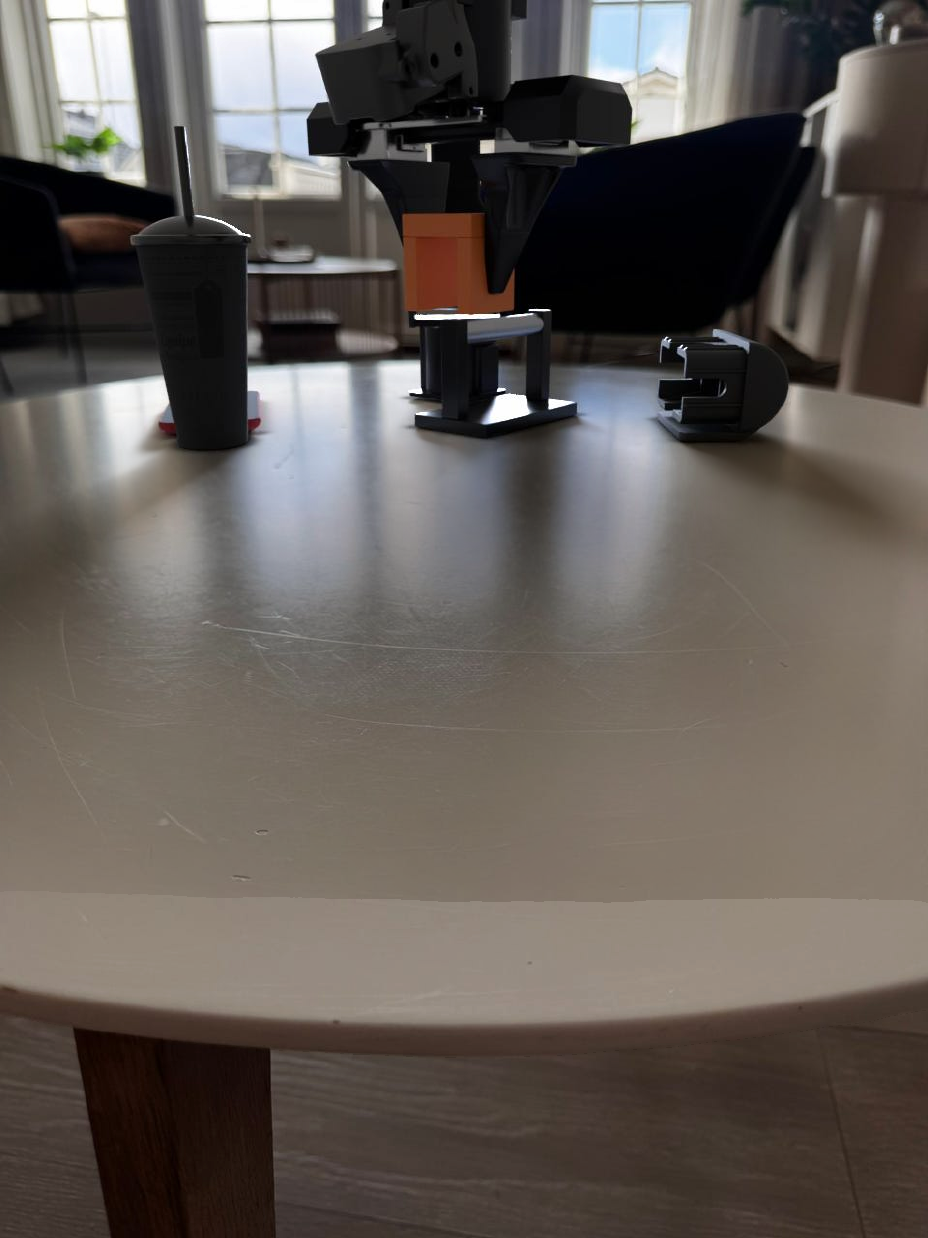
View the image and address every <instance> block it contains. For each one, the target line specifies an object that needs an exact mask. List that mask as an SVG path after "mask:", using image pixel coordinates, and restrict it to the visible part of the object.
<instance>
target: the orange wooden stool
mask: <svg viewBox="0 0 928 1238" xmlns="http://www.w3.org/2000/svg"><path fill="white" fill-rule="evenodd" d="M403 236H404V238H403V242H404V248H403V270H404V271H403V272H404V273H403V274H404V302H405V304H404V305H405V311H407V312H408V311H417V312H425V311H434V310H433V309H442V308H450V307H458V310H457V315H487V314H494V313H497V312H502V311H509V310H512V311H514V309H515V269H514V270H513V273H512V275H511V277H510V280H509V282H508V284H507V286H506V289H505V291H504V292H503V293H502V294H496V295H491V294H489V293H488V288H487V279H486V269H485V213H435V214H403Z"/></svg>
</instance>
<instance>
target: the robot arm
mask: <svg viewBox="0 0 928 1238" xmlns="http://www.w3.org/2000/svg"><path fill="white" fill-rule="evenodd" d="M527 14H528V0H383V1H382V3H381V15H382V21H381V26H379V27H376V28H374V29H371V30H368V31H365V32H362V33H359V34H357V35H354V36H352V37H350V38H348V39H345V40H342V41H340V42H338V43H335V44H333V45H331V46H328V47H326V48H324V49H321V50H319V51H317V52H316V53H315V54H314V57H315V61H316V64H317V68H318V71H319V74H320V78H321V82H322V85H323V89H324V92H325V95H326V100H327V101H322V102H320V101H319V102H316V104H315V105H314V107H313V109H311V112H310V113H309V114H308V116H307V118H306V136H307V149H308V156H309V157H325V158H342V159H355V160H348V161H347V164H348V166H349V168H350V169H351V171H352V172H360V173H361V174H363V175H364V176H365V177H366V179H368V181H369V182H370V183H371V184H372V185H373V186H374V187H375V188H376V189H377V191H379V192H380V194H381V196H382V197H383V199H384V202H385V204H386V206H387V209H388V211H389V214H390V216H391V218H392V220H393V223H394V225H395V228H396V231H397V234H398V237H399V240H400V242H401V246H402V248H403V249H404V242H403V238H404V236H403V214H435V213H485V269H486V279H487V288H488V293H489V294H491V295H496V294H502V293H503V292H504V291H505V289H506V286H507V284H508V282H509V280H510V277H511V275H512V273H513V270H514V271H515V268H516V266H517V263H518V261H519V259H520V257H521V254H522V252H523V250H524V247H525V245H526V244H527V241H528V238H529V236H530V234H531V231H532V230H533V227H534V225H535V223H536V221H537V219H538V216H540V215H539V214H540V212H541V210H542V209H543V208H544V205H545V204H546V202H547V200H548V198H549V196H550V194H551V193H552V191H553V189H554V187H555V185H556V184H557V182H558V180H559V178H560V176H561V174H562V173H563V171H564V170H565V169H566V168H575V167H576V165H577V161H578V158H577V157H578V156H577V155H570V141H572V142H574V143H575V144H576V146H577V147H578V148H582V149H591V148H592V149H593V148H607V147H625V146H630V145H631V142H632V140H631V139H632V125H633V106H632V103H631V100H630V98H629V95H628V94H627V91H626V90H625V88H624V87H623V85H622V83H621V82H617V81H616V82H614V81H612V80H611V81H610V80H604V79H599V78H594V77H589V76H582V75H577V74H565V75H557V76H548V77H537V78H529V79H520V80H519V79H518V80H514V82H513V83H512V35H513V32H512V31H513V22H514V21H521V20H527V19H528V17H527V16H528V15H527ZM481 112H482V114H481ZM482 141H493V147H494V149H493V152H485V153H482V152H481V142H482ZM426 145H430V161H428V148H426ZM481 186H482V188H483V193H484V197H483V200H484V201H483V200H482V198H481ZM456 310H457V311H458V307H450V308H442V309H433V310H432V311H456ZM407 312H408V313H407V314H408V328H409V329H415V328H418V330H419V331H418V332H419V333H418V334H419V366H420V367H419V369H420V371H419V372H420V388H419V389H412V390H408V392H409V393H408V395H409V397H412V398H419V399H420V398H421V399H427V400H435V401H442V378H441V319H450V318H453V319H467V320H468V321H469V320H478V319H487V318H496V317H505V316H513V310H509V311H502V312H496V314H479V315H459V314H427V315H423V314H420V315H419V314H418V315H417V312H418V311H407ZM499 351H500V346H499V344H498V343H496V340H491V341H483V342H476V343H469V344H468V403H470V402H475V401H479V400H484V399H489V398H493V397H498V396H503V395H507V393H506V392H507V389H506V388H502V387H501V388H500V387H499V374H500V373H499V370H500V369H499V359H500V358H499V357H500V354H499V353H500V352H499Z"/></svg>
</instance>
